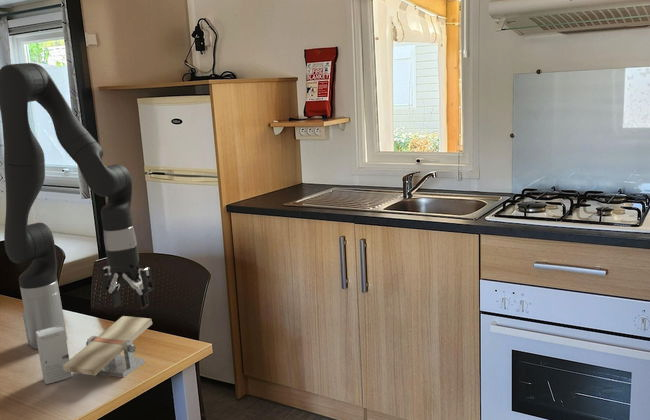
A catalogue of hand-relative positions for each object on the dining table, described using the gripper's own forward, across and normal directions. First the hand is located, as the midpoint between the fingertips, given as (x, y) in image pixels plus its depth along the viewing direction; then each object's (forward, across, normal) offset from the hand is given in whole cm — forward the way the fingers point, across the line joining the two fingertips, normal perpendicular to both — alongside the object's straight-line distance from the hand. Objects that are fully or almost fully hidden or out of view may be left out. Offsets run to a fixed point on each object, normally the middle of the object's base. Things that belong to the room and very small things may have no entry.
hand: (131, 306), depth 157 cm
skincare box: (+12, -10, -17) cm, 23 cm away
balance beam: (+7, 0, -9) cm, 11 cm away
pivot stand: (+12, 0, -9) cm, 15 cm away
